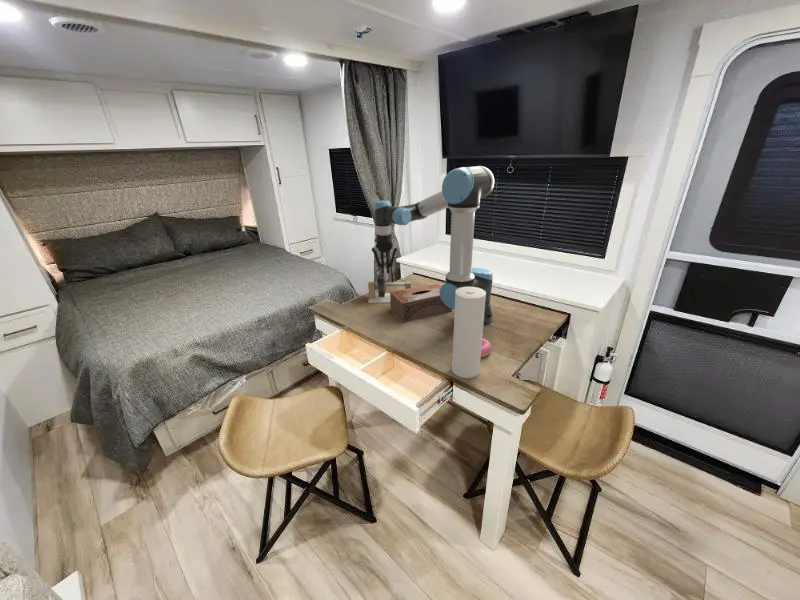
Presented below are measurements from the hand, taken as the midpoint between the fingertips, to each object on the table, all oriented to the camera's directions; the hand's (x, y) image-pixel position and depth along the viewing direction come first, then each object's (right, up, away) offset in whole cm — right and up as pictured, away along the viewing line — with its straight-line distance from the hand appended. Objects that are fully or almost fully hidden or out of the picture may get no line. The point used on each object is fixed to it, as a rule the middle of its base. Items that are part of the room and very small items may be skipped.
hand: (385, 279), depth 169 cm
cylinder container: (+30, -35, -54) cm, 71 cm away
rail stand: (+2, -10, +4) cm, 11 cm away
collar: (-2, -7, +3) cm, 8 cm away
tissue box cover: (+17, -16, -10) cm, 26 cm away
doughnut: (+37, -31, -43) cm, 64 cm away
